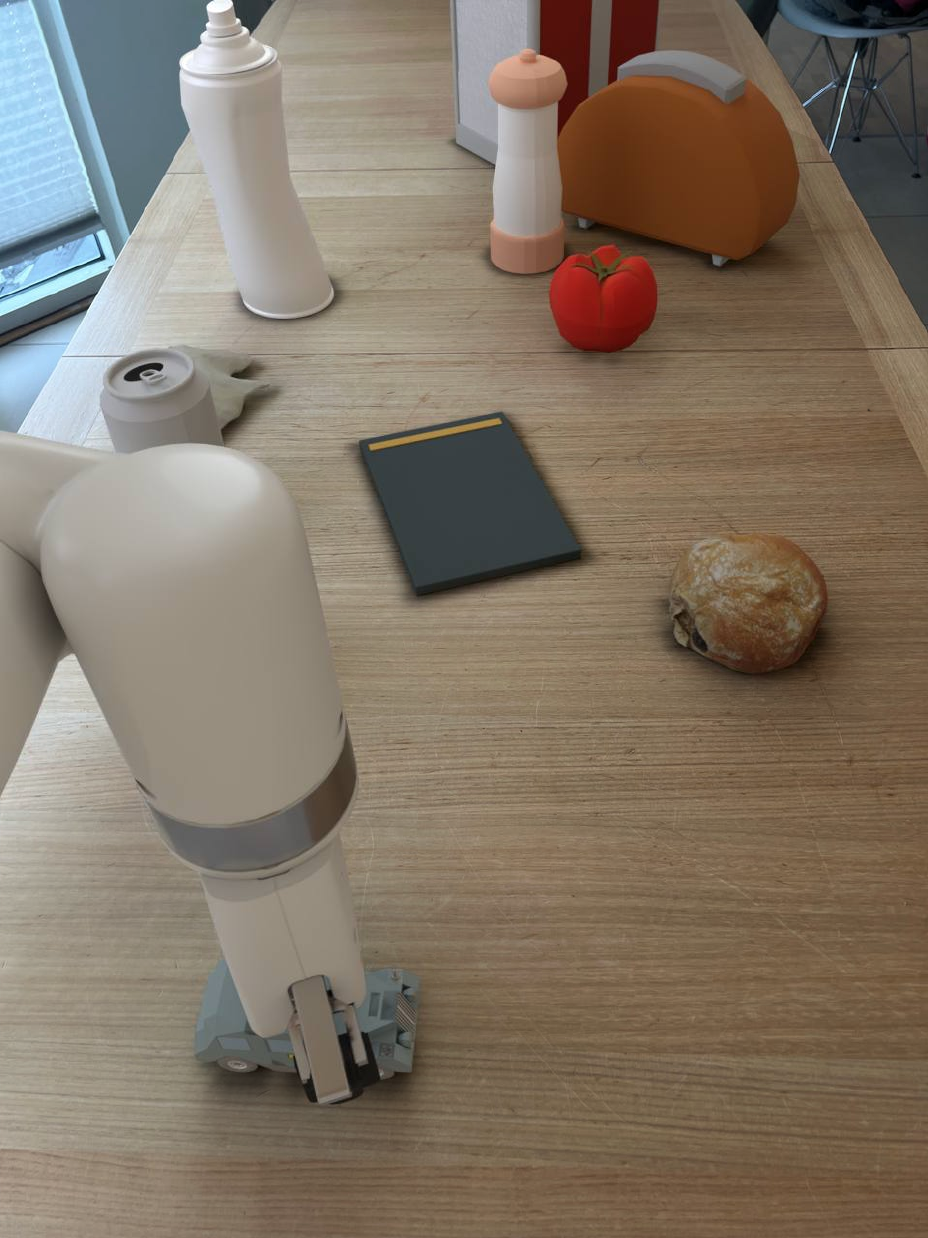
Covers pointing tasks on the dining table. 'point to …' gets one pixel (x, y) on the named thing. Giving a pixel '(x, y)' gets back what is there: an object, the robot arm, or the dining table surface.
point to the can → (158, 402)
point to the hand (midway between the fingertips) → (323, 987)
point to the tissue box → (542, 52)
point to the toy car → (242, 1049)
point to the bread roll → (747, 601)
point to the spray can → (251, 168)
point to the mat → (465, 503)
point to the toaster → (680, 156)
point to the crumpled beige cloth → (224, 379)
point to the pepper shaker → (527, 164)
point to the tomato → (603, 299)
